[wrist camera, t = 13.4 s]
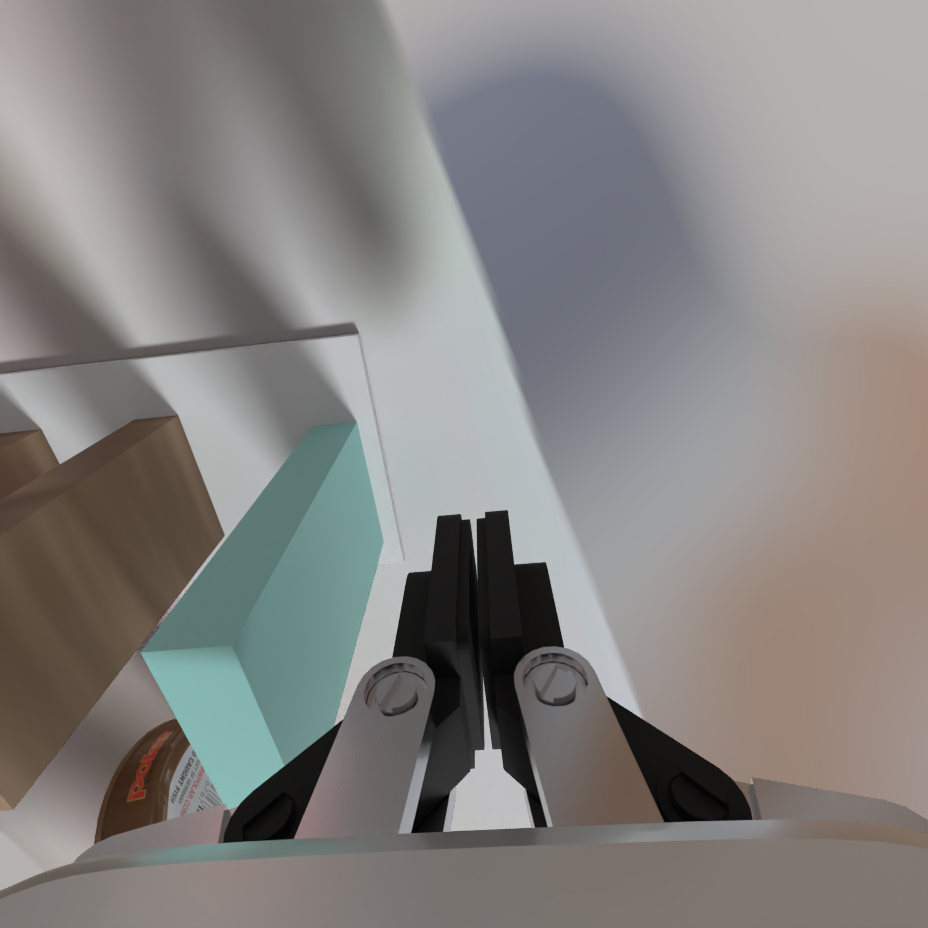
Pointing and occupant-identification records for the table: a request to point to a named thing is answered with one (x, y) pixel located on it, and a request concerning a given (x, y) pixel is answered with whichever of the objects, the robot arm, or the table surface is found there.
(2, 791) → the domino
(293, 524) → the domino
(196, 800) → the tin
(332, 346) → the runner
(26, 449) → the domino
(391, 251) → the table surface
